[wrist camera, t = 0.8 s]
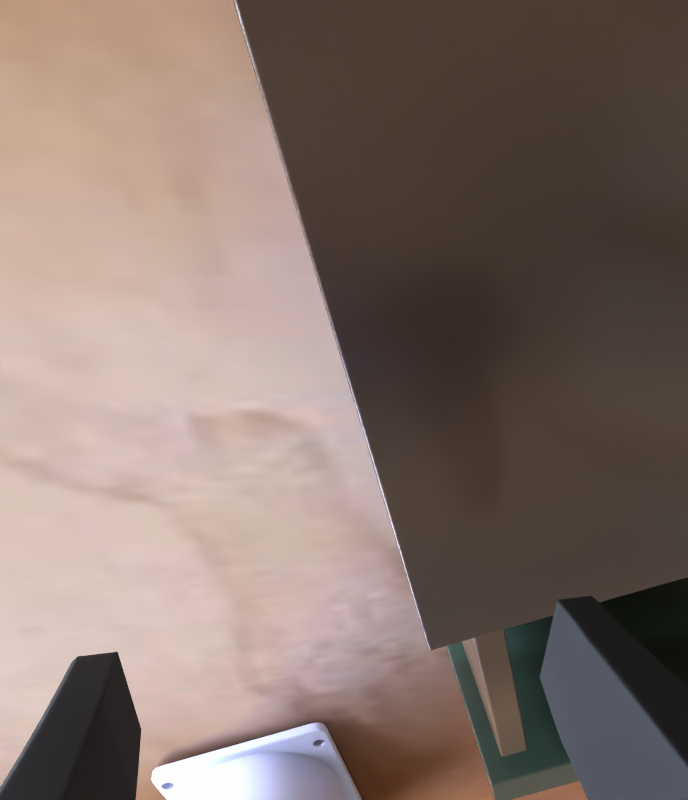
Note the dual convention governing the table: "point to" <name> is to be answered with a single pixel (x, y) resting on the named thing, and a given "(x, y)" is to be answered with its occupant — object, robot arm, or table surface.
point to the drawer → (524, 694)
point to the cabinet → (500, 280)
